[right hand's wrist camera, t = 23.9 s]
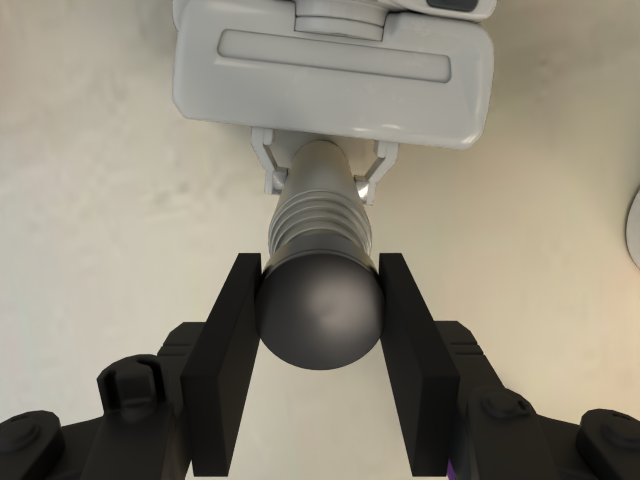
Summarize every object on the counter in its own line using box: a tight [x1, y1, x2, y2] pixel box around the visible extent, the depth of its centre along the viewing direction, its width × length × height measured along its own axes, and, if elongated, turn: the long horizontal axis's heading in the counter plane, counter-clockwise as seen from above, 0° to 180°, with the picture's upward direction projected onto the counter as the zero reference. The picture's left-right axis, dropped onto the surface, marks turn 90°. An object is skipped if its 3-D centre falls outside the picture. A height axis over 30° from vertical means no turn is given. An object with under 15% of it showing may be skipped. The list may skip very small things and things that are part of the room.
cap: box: [254, 234, 386, 370], centre depth 14 cm, size 4×4×2 cm
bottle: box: [268, 140, 372, 257], centre depth 25 cm, size 5×5×24 cm
